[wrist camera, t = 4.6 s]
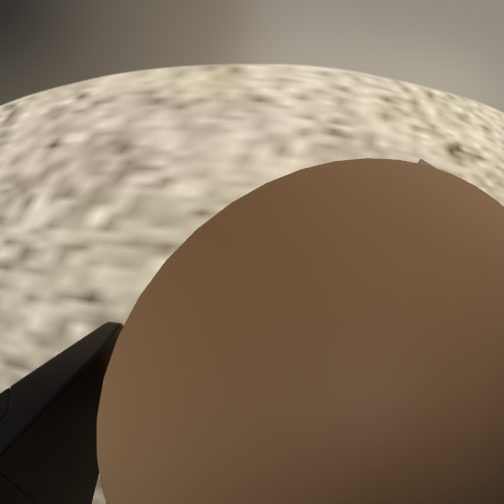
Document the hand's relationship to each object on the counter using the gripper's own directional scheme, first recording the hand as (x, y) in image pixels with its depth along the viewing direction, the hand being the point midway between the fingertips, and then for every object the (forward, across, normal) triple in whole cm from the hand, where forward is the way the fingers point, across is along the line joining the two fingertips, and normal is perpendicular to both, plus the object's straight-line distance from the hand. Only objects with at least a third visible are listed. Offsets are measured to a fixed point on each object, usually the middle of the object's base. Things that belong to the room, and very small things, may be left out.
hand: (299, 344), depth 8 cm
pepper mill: (+4, 0, +6) cm, 7 cm away
